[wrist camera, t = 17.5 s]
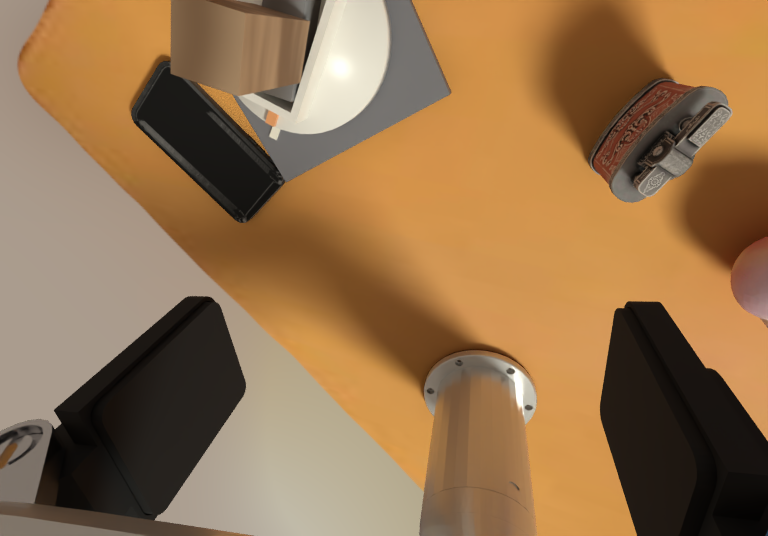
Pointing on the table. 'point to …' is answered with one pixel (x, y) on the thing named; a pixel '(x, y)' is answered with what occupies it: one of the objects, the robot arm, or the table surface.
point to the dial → (334, 69)
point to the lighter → (657, 137)
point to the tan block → (243, 44)
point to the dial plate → (390, 105)
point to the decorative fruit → (752, 279)
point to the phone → (206, 143)
